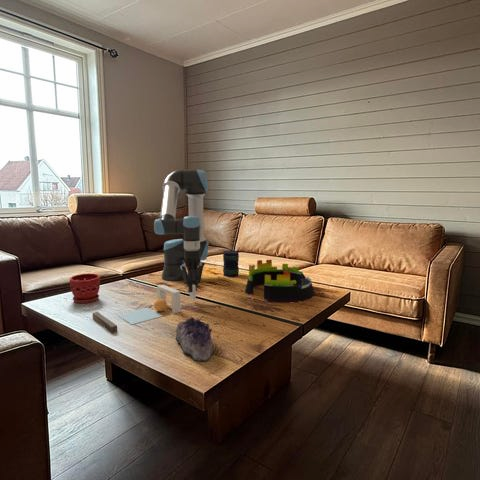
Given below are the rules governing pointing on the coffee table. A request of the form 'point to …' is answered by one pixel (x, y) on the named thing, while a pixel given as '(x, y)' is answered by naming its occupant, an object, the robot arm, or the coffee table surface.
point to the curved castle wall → (279, 283)
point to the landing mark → (139, 315)
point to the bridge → (175, 297)
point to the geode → (195, 339)
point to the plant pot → (85, 287)
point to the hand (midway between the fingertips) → (192, 298)
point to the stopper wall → (105, 322)
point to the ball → (160, 305)
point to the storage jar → (230, 263)
